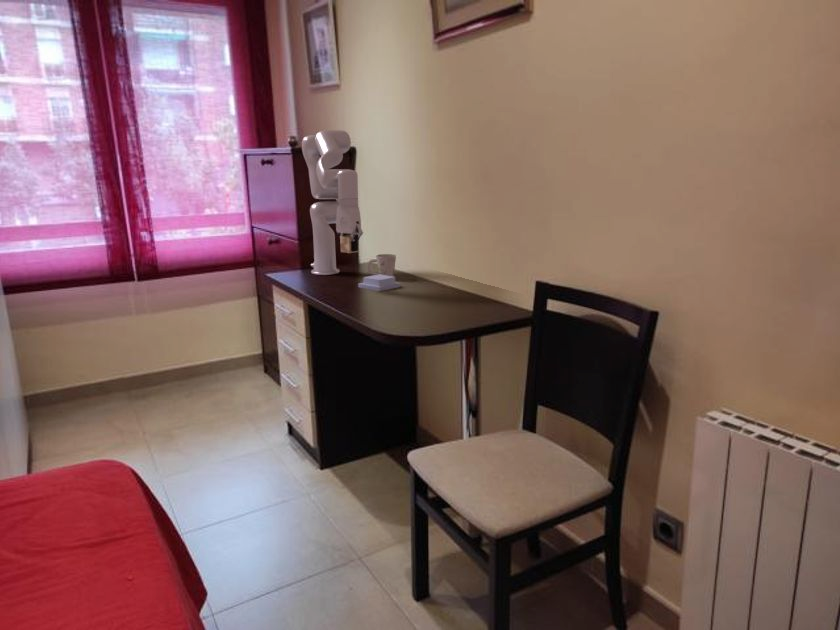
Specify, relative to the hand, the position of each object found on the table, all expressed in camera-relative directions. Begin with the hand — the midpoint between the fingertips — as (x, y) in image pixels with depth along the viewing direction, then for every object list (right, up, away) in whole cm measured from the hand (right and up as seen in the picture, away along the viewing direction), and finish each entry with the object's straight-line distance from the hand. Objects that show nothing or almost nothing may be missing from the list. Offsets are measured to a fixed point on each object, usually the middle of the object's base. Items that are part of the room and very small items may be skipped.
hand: (349, 249), depth 230 cm
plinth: (+11, -14, +6) cm, 19 cm away
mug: (+11, -10, +23) cm, 28 cm away
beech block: (0, -1, 0) cm, 1 cm away
